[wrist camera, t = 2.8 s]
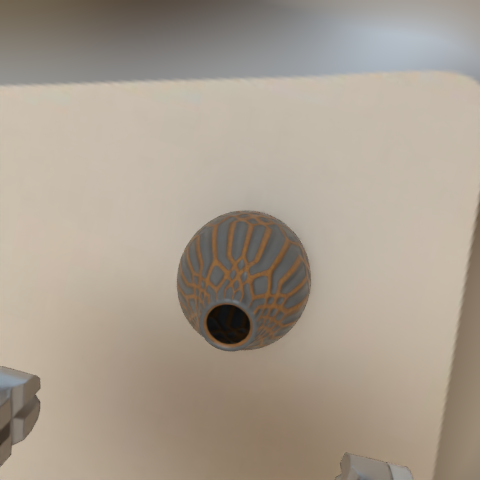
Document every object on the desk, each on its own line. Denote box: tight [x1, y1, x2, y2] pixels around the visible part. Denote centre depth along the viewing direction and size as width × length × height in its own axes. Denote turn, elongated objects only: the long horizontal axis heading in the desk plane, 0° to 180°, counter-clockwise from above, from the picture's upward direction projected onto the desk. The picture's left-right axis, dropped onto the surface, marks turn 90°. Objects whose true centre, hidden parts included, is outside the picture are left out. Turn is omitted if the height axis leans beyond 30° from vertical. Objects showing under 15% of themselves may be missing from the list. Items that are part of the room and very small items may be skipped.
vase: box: [177, 211, 311, 351], centre depth 19 cm, size 7×7×9 cm
